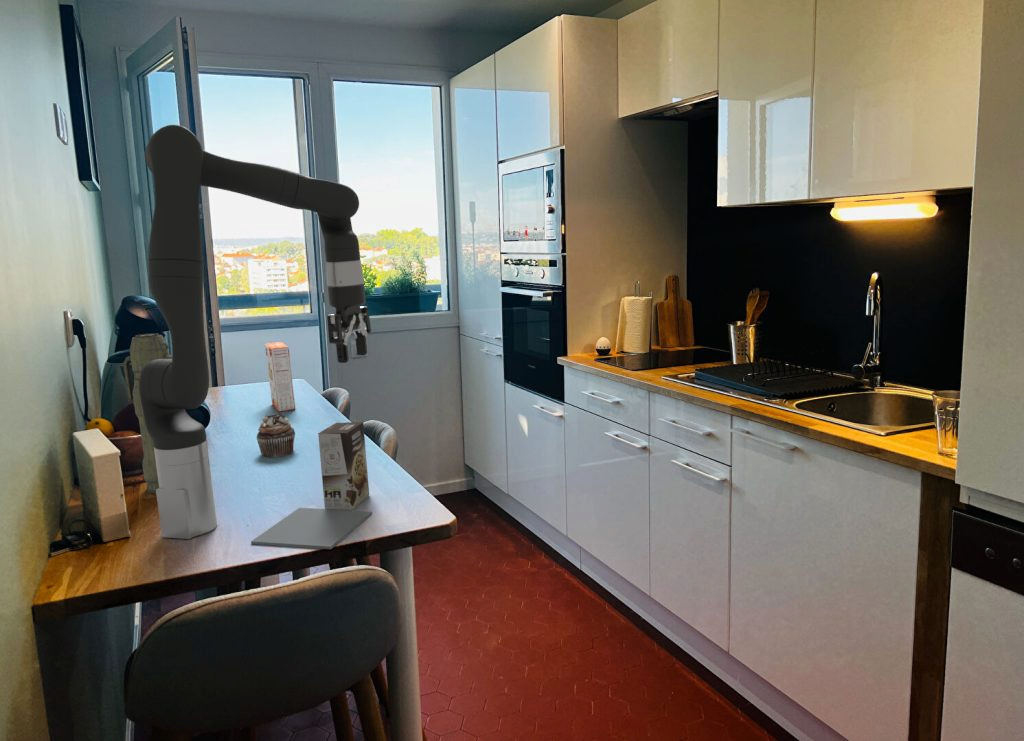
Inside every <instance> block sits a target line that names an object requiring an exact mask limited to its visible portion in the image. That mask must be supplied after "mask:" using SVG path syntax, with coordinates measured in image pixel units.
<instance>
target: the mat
mask: <svg viewBox="0 0 1024 741" xmlns="http://www.w3.org/2000/svg"><path fill="white" fill-rule="evenodd" d="M372 514H373V511H372V510H371V511H370V510H369V511H368V510H367V511H366V510H354V509H353V510H334V509H325V508H311V507H298V508H297V509H295V510H294V511H293V512H291V513H290V514H288V515H287V516H286V517H284V518H282V519H281V520H279V521H277V523H275V524H274V525H272V526H271V527H270V528H268V529H267V530H264V532H262V533H261V534H260V535H258V536H256V537H255V538H254V539H252V540H251V541H250V544H251V545H259V546H260V545H263V546H276V547H279V546H280V547H291V548H292V547H293V548H307V549H320V550H321V549H324V550H332V549H333V548H334V547H336V546H337V545H338V544H339V543H340V542H341V541H343V540H344V539H345V538H346V537H348V536H349V534H351V533H352V532H353V531H354V530H356V528H357V527H359V526H360V525H361V524H362V523H363V522H365V521H366V520H367V519H368V518H370V517H371V515H372Z"/></svg>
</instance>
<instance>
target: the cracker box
mask: <svg viewBox="0 0 1024 741" xmlns="http://www.w3.org/2000/svg"><path fill="white" fill-rule="evenodd" d="M264 347H265V356H266V363H267V372H268V378H269V379H268V381H269V389H270V398H271V404H272V406H274V408H275V409H276V411H277V412H278V413H281V411H282V412H288V411H294V409H295V410H296V402H295V394H294V392H295V391H294V384H293V374H292V366H291V356H290V348H289V346H287V345H286V344H285V343H283V342H282V341H277V342H268V343H264Z"/></svg>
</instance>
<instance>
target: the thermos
mask: <svg viewBox="0 0 1024 741" xmlns="http://www.w3.org/2000/svg"><path fill="white" fill-rule="evenodd" d="M168 348H169V347H168V344H167V342H166V340H165V339H164V336H163V335H162V334H159V333H142V334H137V335H135V336H134V337H132V338H131V342H130V347H129V354H130V355H128V356H126V357H125V359H124V361H123V362H122V365H123V367H122V368H123V372H124V373H123V374H124V380H125V388H126V393H127V394H126V395H127V398H128V402H129V403H132V405H133V406H134V413H135V416H136V417H137V418H138V423H139V429H140V431H139V432H140V436H141V437H140V438H141V444H142V452H143V459H142V470H143V479H144V481H145V483H146V484H145V485H146V491H147V493H150V494H156V490H157V489H158V488H159V482H158V474H157V467H156V459H155V452H154V446H153V440H152V438H151V437H150V435H149V433H148V431H147V429H146V424H145V419H144V414H143V409H142V404H141V399H140V392H139V379H140V375H141V372H142V370H143V368H144V367H145V365H146V364H147V363H149V362H150V361H153V360H157V359H172V354H170V353H169V349H168ZM130 363H131V364H130ZM131 368H132V371H131ZM132 373H133V374H134V375H133V376H134V377H133V379H132ZM133 383H134V384H133Z"/></svg>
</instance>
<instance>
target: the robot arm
mask: <svg viewBox="0 0 1024 741" xmlns="http://www.w3.org/2000/svg"><path fill="white" fill-rule="evenodd" d="M144 160H145V164H146V166H147V168H148V170H149V171H150V172H151V173H152V176H153V186H154V187H153V188H154V210H153V216H152V222H151V228H150V235H149V242H148V258H147V260H148V261H147V262H148V270H147V271H148V286H149V291H150V293H151V294H150V295H151V296H152V298H153V300H154V302H155V304H156V306H157V308H158V310H159V311H160V313H161V315H162V317H163V318H164V320H165V322H166V324H167V326H168V330H169V334H170V339H171V353H172V354H171V355H172V359H157V360H153V361H150V362H149V363H147V364H146V365H145V367H144V368H143V370H142V372H141V375H140V379H139V392H140V399H141V404H142V409H143V414H144V419H145V424H146V429H147V431H148V433H149V435H150V437H151V438H152V440H153V446H154V452H155V459H156V467H157V474H158V482H159V488H158V489H157V490H156V493H155V494H156V503H157V510H158V516H159V523H160V530H161V537H162V538H167V539H168V538H169V539H182V540H184V539H186V540H191V539H192V538H194V537H197V536H201V535H204V534H207V533H210V532H211V531H213V530H214V529H216V527H217V525H218V522H217V513H216V504H215V503H216V502H215V498H214V489H213V480H212V472H211V464H210V457H209V447H208V441H207V431H206V427H205V426H204V424H202V423H200V422H199V421H197V420H196V419H194V418H192V417H191V416H190V415H189V414H188V413H187V411H186V410H195V409H197V408H199V407H201V406H202V405H203V404H204V402H205V401H206V399H207V396H208V393H209V388H210V370H209V363H208V362H209V361H208V353H207V345H206V335H205V324H204V323H205V318H204V255H203V240H202V239H203V238H202V228H201V218H200V190H201V189H200V188H201V187H205V188H206V187H208V188H214V189H217V190H223V191H227V192H233V193H237V194H240V195H244V196H247V197H250V198H255V199H258V200H262V201H263V202H264V201H265V202H267V203H270V204H271V203H272V204H276V205H279V206H283V207H287V208H290V209H295V210H306V211H309V212H313V213H316V214H317V217H318V222H319V225H320V229H321V233H322V236H323V239H324V240H323V241H324V252H325V254H324V255H325V262H326V270H325V272H326V283H327V284H326V285H327V294H328V295H327V296H328V303H329V306H330V307H332V308H335V313H334V314H328V315H327V331H328V342H329V344H333V345H335V347H336V356H337V362H338V363H340V364H342V363H343V364H344V363H348V362H349V361H350V360H349V358H350V357H349V349H348V348H349V347H348V341H349V337H350V336H351V335H352V333H353V334H354V336H355V349H356V354H357V356H366V355H368V347H367V338H368V334H371V333H372V328H371V318H370V311H369V307H368V306H363V305H365V304H366V292H365V281H364V272H363V267H362V266H363V265H362V262H361V253H360V242H359V238H358V236H357V234H356V233H355V232H354V230H353V226H352V220H351V218H353V217H354V216H355V215H356V214H357V212H358V210H359V208H360V199H359V196H358V194H357V193H356V192H355V190H354V189H353V188H351V187H350V186H347V185H345V184H343V183H340V182H335V181H330V180H326V179H320V178H314V177H310V176H307V175H305V174H302V173H299V172H296V171H292V170H289V169H285V168H282V167H280V166H279V167H278V166H275V165H270V164H267V163H260V162H252V161H243V160H238V159H233V158H228V157H225V156H220V155H217V154H214V153H211V152H209V151H206V150H205V149H203V147H202V144H201V142H200V140H199V138H198V137H197V136H196V135H195V134H194V132H192V131H191V130H190V129H188V128H187V127H185V126H183V125H179V124H168V125H165V126H163V127H160V128H159V129H158V130H156V131H155V132H154V133H153V134H152V135H151V136H150V138H149V141H148V143H147V145H146V147H145V150H144Z"/></svg>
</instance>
